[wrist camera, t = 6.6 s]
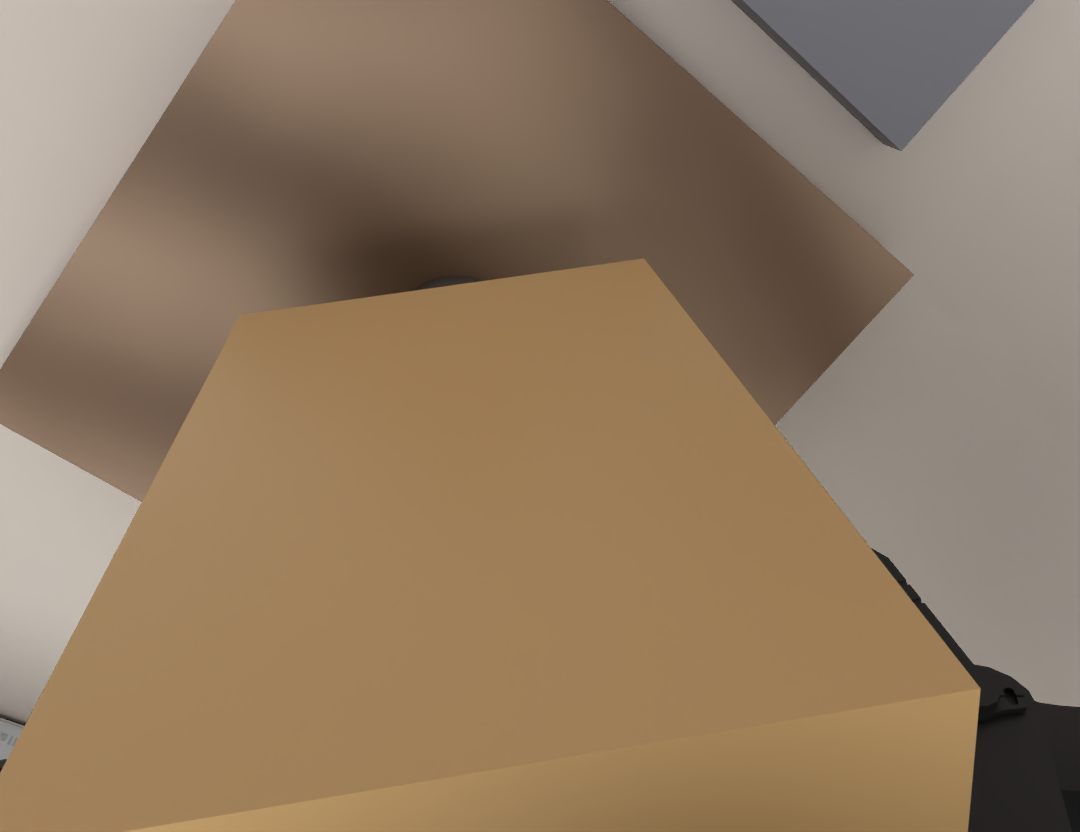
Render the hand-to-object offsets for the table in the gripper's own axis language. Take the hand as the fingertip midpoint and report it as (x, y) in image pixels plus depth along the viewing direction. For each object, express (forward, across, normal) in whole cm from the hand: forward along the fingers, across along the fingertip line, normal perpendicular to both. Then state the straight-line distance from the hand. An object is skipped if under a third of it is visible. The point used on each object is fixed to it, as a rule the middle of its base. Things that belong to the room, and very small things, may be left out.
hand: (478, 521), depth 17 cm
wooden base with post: (+10, 0, 0) cm, 10 cm away
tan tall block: (+2, 0, 0) cm, 2 cm away
